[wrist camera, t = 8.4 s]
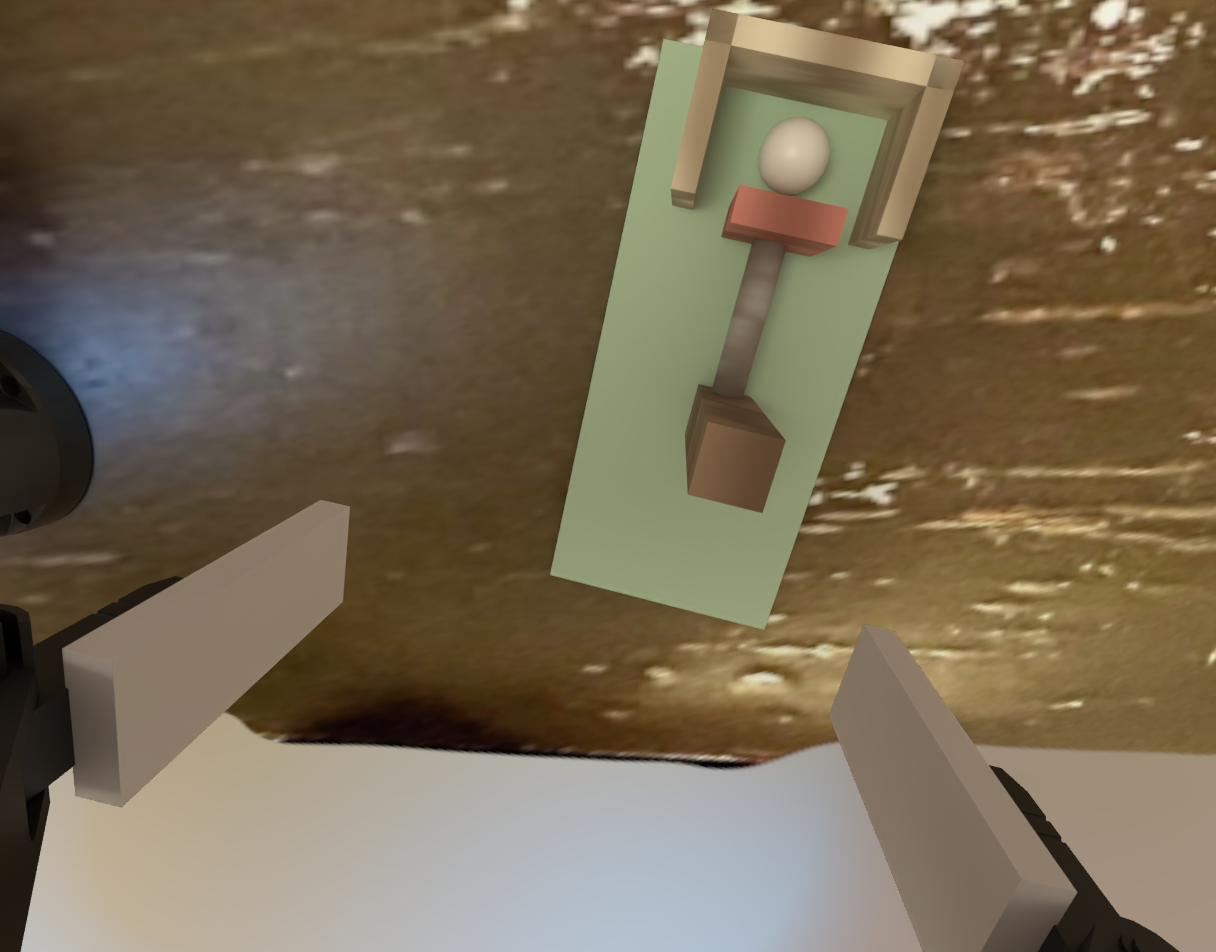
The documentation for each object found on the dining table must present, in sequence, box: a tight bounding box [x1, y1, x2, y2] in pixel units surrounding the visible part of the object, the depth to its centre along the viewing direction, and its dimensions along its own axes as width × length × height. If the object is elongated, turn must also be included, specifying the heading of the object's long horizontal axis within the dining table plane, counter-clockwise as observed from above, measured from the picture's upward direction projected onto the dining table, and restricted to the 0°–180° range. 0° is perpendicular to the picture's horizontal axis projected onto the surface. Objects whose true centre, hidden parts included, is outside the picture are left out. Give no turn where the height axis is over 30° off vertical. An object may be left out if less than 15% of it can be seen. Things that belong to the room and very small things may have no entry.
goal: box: [671, 9, 964, 249], centre depth 29 cm, size 11×7×5 cm, turn 77°
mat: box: [550, 39, 899, 630], centre depth 35 cm, size 15×32×1 cm, turn 167°
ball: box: [758, 117, 830, 195], centre depth 30 cm, size 4×4×4 cm
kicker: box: [685, 185, 849, 513], centre depth 28 cm, size 5×13×12 cm, turn 168°
